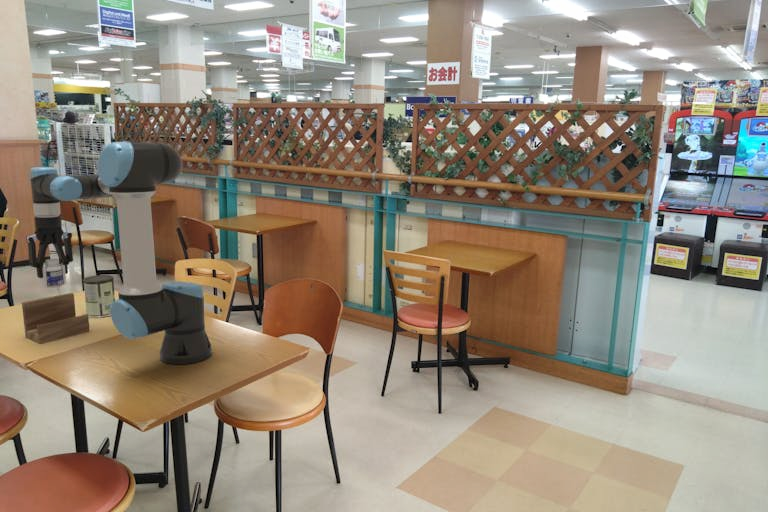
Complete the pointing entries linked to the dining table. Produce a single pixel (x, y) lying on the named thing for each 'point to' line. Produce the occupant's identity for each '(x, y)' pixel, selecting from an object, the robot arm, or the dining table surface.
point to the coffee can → (99, 295)
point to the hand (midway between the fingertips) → (53, 285)
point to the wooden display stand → (53, 319)
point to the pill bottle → (53, 273)
